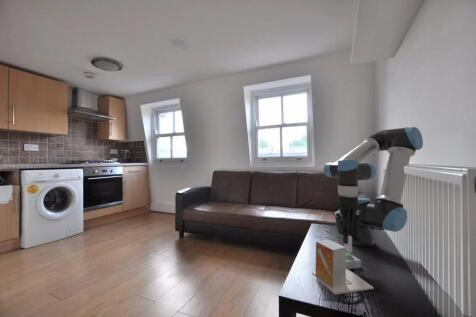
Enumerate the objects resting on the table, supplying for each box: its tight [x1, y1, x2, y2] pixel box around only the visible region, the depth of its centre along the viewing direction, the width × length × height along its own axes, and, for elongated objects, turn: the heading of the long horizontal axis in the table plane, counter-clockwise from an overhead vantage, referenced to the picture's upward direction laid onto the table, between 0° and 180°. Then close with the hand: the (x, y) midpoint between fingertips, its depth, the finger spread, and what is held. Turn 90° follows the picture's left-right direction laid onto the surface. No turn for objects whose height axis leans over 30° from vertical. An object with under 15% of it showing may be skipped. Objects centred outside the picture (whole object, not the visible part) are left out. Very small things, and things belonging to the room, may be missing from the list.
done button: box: [346, 252, 353, 260], centre depth 88 cm, size 3×3×2 cm
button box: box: [346, 252, 362, 270], centre depth 88 cm, size 7×7×3 cm
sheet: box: [312, 268, 375, 295], centre depth 76 cm, size 15×13×1 cm
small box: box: [315, 239, 347, 288], centre depth 75 cm, size 8×6×13 cm
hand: (348, 250), depth 89 cm, fingers closed
